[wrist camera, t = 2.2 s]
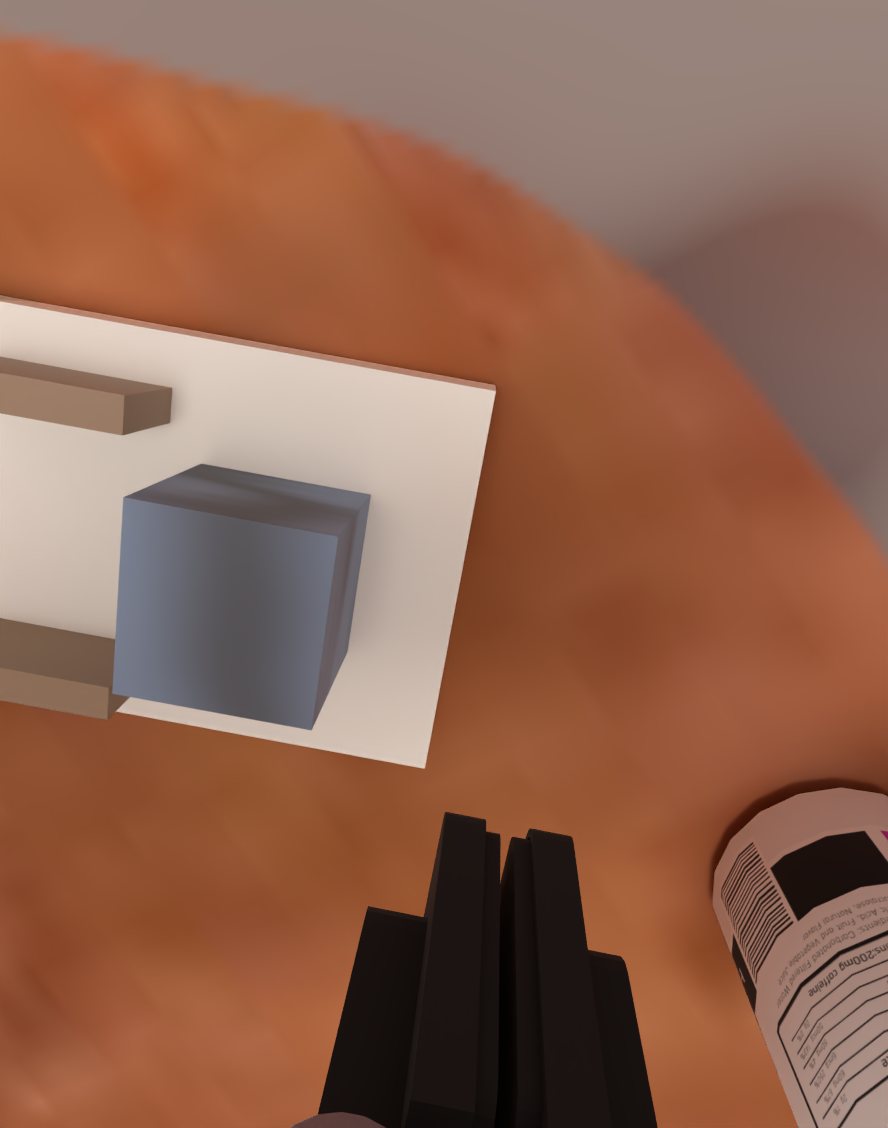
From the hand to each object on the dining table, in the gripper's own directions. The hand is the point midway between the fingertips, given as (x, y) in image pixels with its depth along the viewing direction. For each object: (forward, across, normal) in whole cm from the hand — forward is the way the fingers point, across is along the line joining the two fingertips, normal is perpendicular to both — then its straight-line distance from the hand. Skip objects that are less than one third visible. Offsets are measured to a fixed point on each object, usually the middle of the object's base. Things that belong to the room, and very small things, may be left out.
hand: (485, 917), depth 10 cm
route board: (+16, +14, 0) cm, 21 cm away
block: (+13, +7, 0) cm, 15 cm away
